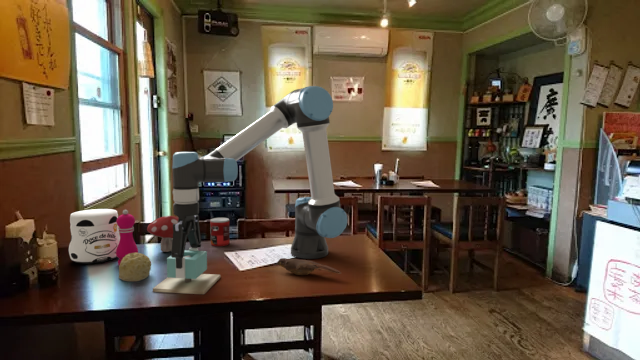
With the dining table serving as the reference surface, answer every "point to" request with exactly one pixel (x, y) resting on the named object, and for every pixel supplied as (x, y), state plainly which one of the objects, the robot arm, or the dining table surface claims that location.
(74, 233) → the dulce de leche jar
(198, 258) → the teal hollow square block
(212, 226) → the canned food
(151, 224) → the decorative mushroom
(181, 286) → the rod stand
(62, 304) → the dining table surface
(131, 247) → the pepper mill
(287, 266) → the bird sculpture
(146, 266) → the rock
